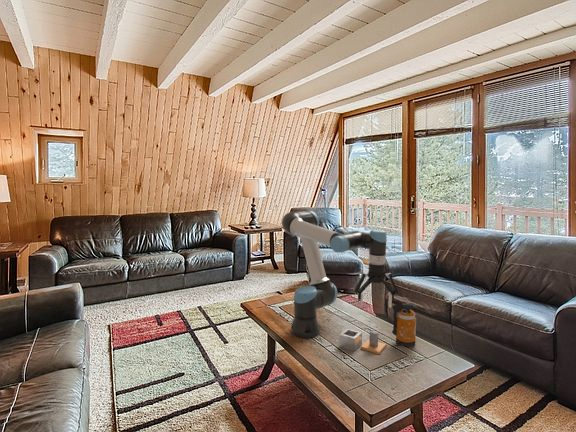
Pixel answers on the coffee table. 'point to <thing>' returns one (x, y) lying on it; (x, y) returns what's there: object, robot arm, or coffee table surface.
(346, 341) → the grey hollow block
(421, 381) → the coffee table surface
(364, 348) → the block
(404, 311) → the canister
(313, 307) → the robot arm
